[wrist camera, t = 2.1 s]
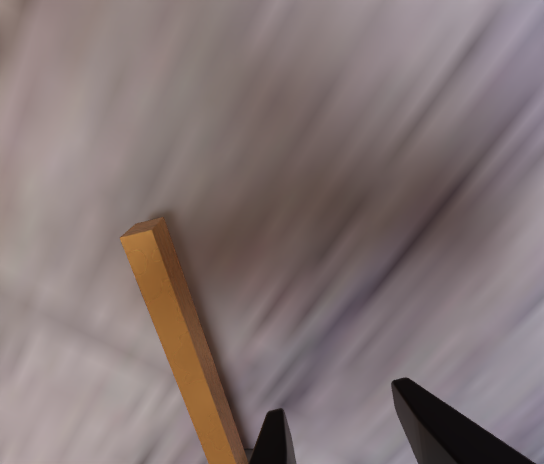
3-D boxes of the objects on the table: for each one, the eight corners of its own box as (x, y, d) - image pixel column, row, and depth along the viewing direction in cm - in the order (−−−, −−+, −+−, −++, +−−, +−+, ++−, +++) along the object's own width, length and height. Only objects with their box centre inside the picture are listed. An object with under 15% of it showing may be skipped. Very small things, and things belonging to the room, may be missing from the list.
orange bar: (274, 501, 23) (277, 538, 21) (230, 511, 23) (229, 550, 21) (179, 213, 17) (169, 225, 14) (119, 227, 16) (101, 242, 14)
